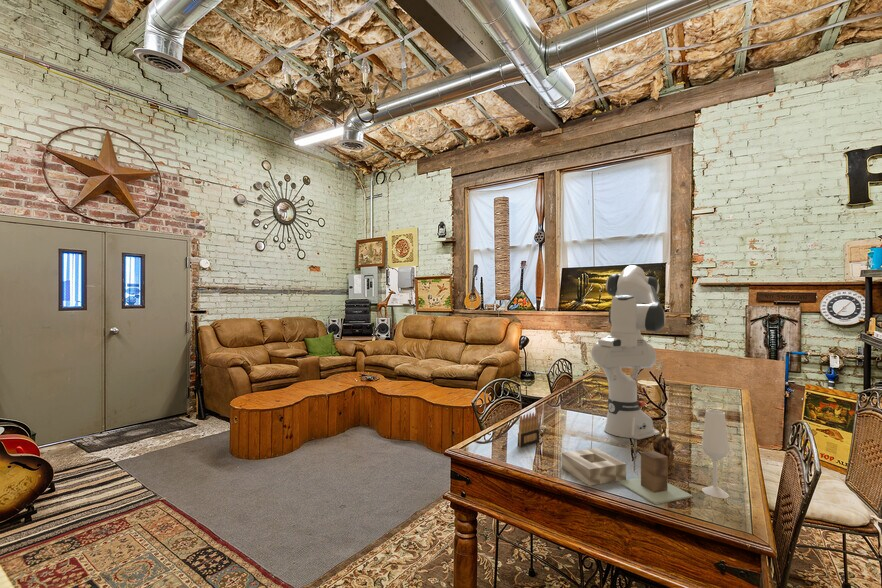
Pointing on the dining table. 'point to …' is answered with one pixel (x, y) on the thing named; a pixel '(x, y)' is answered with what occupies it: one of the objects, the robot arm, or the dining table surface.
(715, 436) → the champagne flute
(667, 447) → the wooden carving
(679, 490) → the sage mat
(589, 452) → the pocket block
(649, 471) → the walnut peg
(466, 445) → the dining table surface
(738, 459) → the dining table surface
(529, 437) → the ammunition clip
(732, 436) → the dining table surface
